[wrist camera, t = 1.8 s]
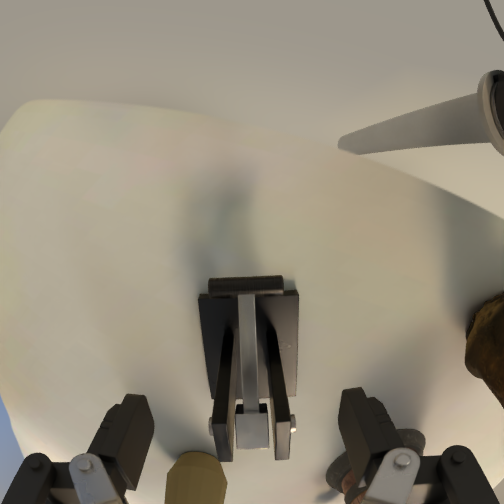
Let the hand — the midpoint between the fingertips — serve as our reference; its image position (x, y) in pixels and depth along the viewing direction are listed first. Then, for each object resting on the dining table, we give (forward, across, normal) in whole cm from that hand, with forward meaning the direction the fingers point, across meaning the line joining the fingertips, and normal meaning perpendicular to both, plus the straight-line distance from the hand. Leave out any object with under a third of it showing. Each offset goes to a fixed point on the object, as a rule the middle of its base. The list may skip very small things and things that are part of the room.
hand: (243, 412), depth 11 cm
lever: (+9, 0, +4) cm, 10 cm away
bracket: (+17, 0, +8) cm, 19 cm away
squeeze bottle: (+18, +8, +28) cm, 34 cm away
